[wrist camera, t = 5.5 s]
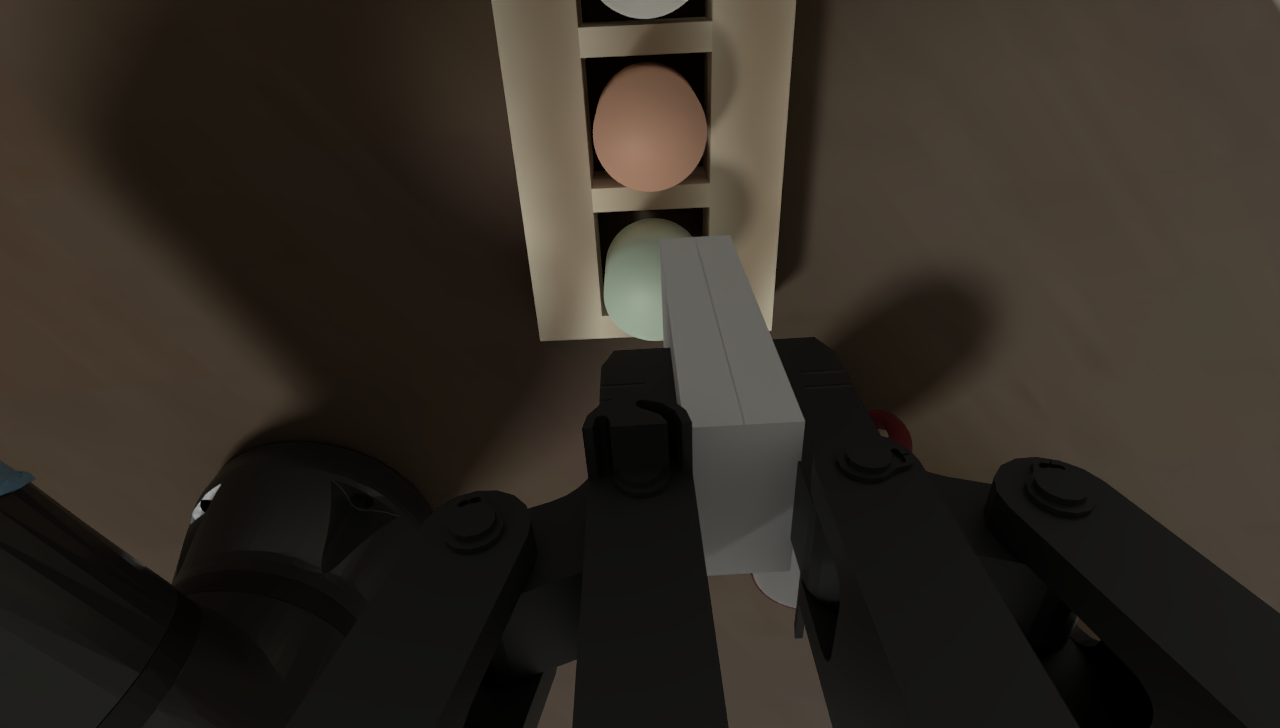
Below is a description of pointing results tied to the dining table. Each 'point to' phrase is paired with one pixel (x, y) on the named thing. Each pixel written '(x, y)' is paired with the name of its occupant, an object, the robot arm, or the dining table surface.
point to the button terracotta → (649, 127)
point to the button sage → (638, 277)
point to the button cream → (644, 7)
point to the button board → (573, 192)
